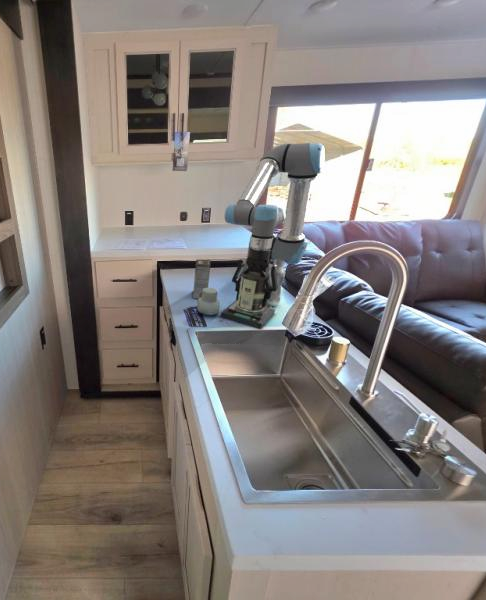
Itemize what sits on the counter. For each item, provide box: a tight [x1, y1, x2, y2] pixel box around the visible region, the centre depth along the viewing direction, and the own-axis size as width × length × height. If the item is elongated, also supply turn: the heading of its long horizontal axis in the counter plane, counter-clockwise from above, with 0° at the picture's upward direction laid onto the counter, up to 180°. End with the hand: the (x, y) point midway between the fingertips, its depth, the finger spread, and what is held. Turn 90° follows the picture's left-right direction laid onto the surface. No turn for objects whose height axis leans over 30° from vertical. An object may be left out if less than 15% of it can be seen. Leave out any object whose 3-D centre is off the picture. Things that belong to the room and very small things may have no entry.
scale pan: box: [228, 300, 273, 319], centre depth 127 cm, size 13×13×1 cm
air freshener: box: [196, 287, 221, 316], centre depth 128 cm, size 11×8×10 cm
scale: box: [220, 299, 276, 330], centre depth 127 cm, size 16×16×2 cm
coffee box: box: [192, 259, 211, 300], centre depth 144 cm, size 9×6×16 cm
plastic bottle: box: [267, 259, 286, 307], centre depth 133 cm, size 6×7×20 cm
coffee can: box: [237, 271, 270, 312], centre depth 124 cm, size 10×10×14 cm
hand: (250, 302), depth 126 cm, fingers closed on coffee can, 10 cm apart
